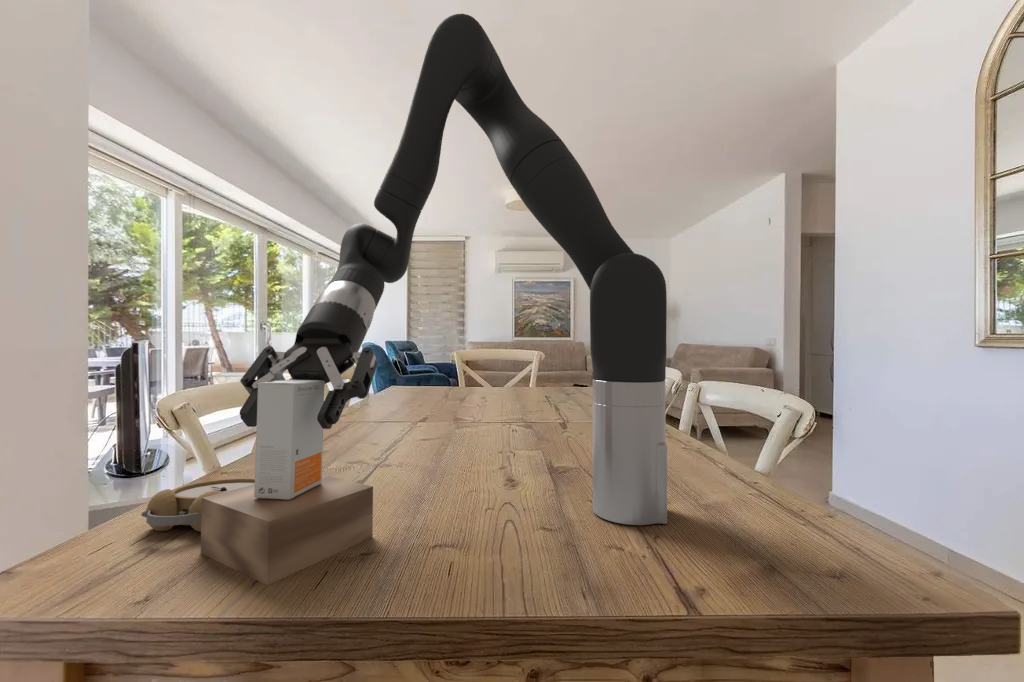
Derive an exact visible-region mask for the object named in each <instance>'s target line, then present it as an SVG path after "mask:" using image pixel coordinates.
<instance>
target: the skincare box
mask: <svg viewBox="0 0 1024 682" xmlns="http://www.w3.org/2000/svg"><path fill="white" fill-rule="evenodd" d="M325 385H326V384H325V381H324V380H296V379H293V380H289V379H285V380H279V381H273V382H262V383H258V399H257V426H256V430H255V432H256V435H255V457H254V458H255V463H254V465H255V466H254V478H255V487H254V497H255V498H269V499H285V500H290V499H292V498H294V497H295V496H297V495H299V494H301V493H303V492H305V491H307V490H309V489H311V488H313V487H315V486H318V485H320V484H321V483H322V475H323V455H324V453H323V452H324V451H323V449H324V429H323V428H322V427H321V425H320V424H319V422H318V420H317V416H318V413H319V411H320V409H321V407H322V405H323V403H324V401H325Z"/></svg>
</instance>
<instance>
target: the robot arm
mask: <svg viewBox="0 0 1024 682" xmlns="http://www.w3.org/2000/svg"><path fill="white" fill-rule="evenodd" d="M413 92H414V93H413V97H412V100H411V104H410V107H409V111H408V114H407V118H406V121H405V125H404V128H403V131H402V134H401V137H400V140H399V142H398V146H397V149H396V151H395V153H394V155H393V157H392V160H391V163H390V165H389V166H388V168H387V171H386V172H385V175H384V176H383V180H382V182H381V184H380V186H379V189H378V191H377V193H376V195H375V198H374V201H373V206H374V208H375V210H377V212H379V214H381V215H382V216H383V217H385V218H386V219H388V221H390V222H391V223H392V225H394V227H395V229H396V237H393V236H392V235H389V234H387V233H385V232H383V231H381V230H380V229H377V228H375V227H373V226H371V225H369V224H367V223H356V224H353V225H352V226H350V227H349V228H348V229H347V230H346V231H345V232H344V234H343V237H342V239H341V244H340V249H339V251H340V252H339V262H338V267H337V269H336V271H335V273H334V275H333V276H332V278H331V280H330V282H329V283H328V284H327V286H326V288H325V289H324V290H323V291H322V292H321V293H320V294H319V295H318V297H317V299H316V300H315V302H314V303H313V305H312V306H311V308H310V309H309V311H308V312H307V315H306V316H305V318H304V319H303V320H302V323H301V324H300V326H299V327H298V329H297V331H296V335H295V340H294V344H293V345H292V346H291V347H290V348H288V349H287V350H286V351H276V350H275V349H274V347H273V346H270V345H269V346H266V347H264V348H263V349H262V351H261V352H260V353H259V355H257V357H256V359H255V360H254V361H253V363H252V364H251V365H250V366H249V368H248V369H247V371H246V372H244V375H243V376H242V378H241V379H240V382H239V383H241V384H242V386H243V387H244V390H246V391H247V393H248V394H249V395H248V397H247V399H246V400H245V402H244V403H243V405H242V407H240V409H239V416H240V419H241V421H242V422H243V423H244V425H245V426H247V427H249V428H257V399H258V383H262V382H273V381H279V380H286V378H285V376H284V373H285V372H286V371H287V372H288V374H289V376H290V378H289V379H288V380H293V379H296V380H324V381H325V385H326V384H329V383H331V386H332V387H333V390H329V391H328V392H327V395H326V397H325V398H324V403H323V405H322V407H321V409H320V411H319V413H318V416H317V420H318V422H319V424H320V425H321V427H322V428H323V430H330V429H332V427H333V425H336V424H337V422H339V421H340V419H341V415H342V413H343V410H344V408H345V406H346V403H349V402H350V400H351V399H353V398H358V399H360V400H362V399H365V398H367V396H369V395H368V394H369V393H370V389H371V386H372V383H373V378H374V376H375V373H376V371H377V367H378V361H377V357H376V355H375V353H374V351H373V348H372V347H371V346H366V347H364V348H362V350H361V351H360V348H361V346H362V344H363V341H364V340H365V338H366V335H367V333H368V331H369V330H370V329H369V328H370V326H371V325H372V321H373V319H374V314H375V310H376V309H377V307H378V305H379V302H380V300H381V298H382V295H383V293H384V291H385V284H394V283H396V282H398V281H399V280H401V279H402V278H403V277H404V275H405V274H406V272H407V270H408V267H409V262H410V255H411V248H412V243H413V238H414V237H413V236H414V233H415V230H416V229H415V228H416V227H417V223H418V220H419V219H420V216H421V214H422V211H423V210H424V207H425V205H426V202H427V201H428V198H429V197H430V194H431V192H432V190H433V188H434V185H435V182H436V179H437V175H438V172H439V167H440V159H441V152H442V143H443V138H444V131H445V128H446V123H447V119H448V116H449V113H450V111H451V108H452V106H453V104H454V101H456V102H457V103H458V104H459V105H460V106H461V107H462V108H463V109H464V110H465V111H466V113H468V114H469V116H470V117H471V118H472V119H473V120H474V122H475V123H477V125H478V126H479V127H480V128H481V130H482V131H483V132H484V134H485V135H486V136H487V138H488V139H489V142H490V143H491V146H492V148H493V151H494V152H495V153H494V154H495V155H496V158H497V160H498V162H499V165H500V167H501V169H502V171H503V173H504V175H505V176H506V178H507V180H508V182H509V183H510V185H511V186H512V188H513V189H514V191H515V192H516V194H517V195H518V196H519V198H520V200H521V201H522V203H523V204H524V206H525V207H526V208H527V209H528V211H529V212H530V213H531V214H532V216H534V218H535V219H536V220H537V222H538V223H539V224H540V225H541V226H542V227H543V229H544V230H545V231H546V232H547V233H548V234H549V235H550V236H551V238H552V239H553V240H554V241H555V242H556V243H557V244H558V245H559V246H560V247H561V249H563V250H564V252H565V253H566V254H567V255H568V256H569V258H570V259H571V260H572V262H573V264H574V265H575V266H576V268H577V270H578V271H579V273H580V275H581V276H582V279H583V280H584V282H585V284H586V286H587V287H588V289H589V291H590V292H589V331H590V332H589V333H590V334H589V336H590V340H589V341H590V342H589V343H590V345H589V347H590V358H591V365H592V366H591V367H592V433H591V434H592V440H591V441H592V443H591V444H592V463H591V464H592V465H591V466H592V472H591V473H592V484H591V485H592V489H591V490H592V492H591V493H592V494H591V496H592V497H591V498H592V512H593V513H594V514H595V515H596V516H598V517H600V518H601V519H604V520H606V521H609V522H613V523H616V524H622V525H629V526H646V525H648V526H649V525H654V524H663V525H666V524H668V446H667V443H666V441H667V437H666V431H667V430H666V429H667V428H666V420H667V419H666V410H667V409H666V406H667V405H666V380H667V379H666V378H667V377H666V372H667V371H666V369H667V368H666V367H667V323H668V322H667V304H668V303H667V301H668V300H667V283H666V280H665V276H664V273H663V271H662V269H661V268H660V267H659V266H658V265H657V264H656V263H655V262H654V261H653V259H652V260H651V258H648V257H647V256H645V255H642V254H639V253H635V252H634V251H633V250H632V249H631V247H630V246H629V245H628V244H627V243H626V241H625V240H624V239H623V238H622V237H621V236H620V234H619V232H618V231H617V230H616V228H615V227H614V226H613V225H612V224H613V223H611V221H610V218H609V217H608V216H607V215H608V214H607V213H606V211H605V209H604V206H603V205H602V203H601V201H600V198H599V197H598V195H597V193H596V191H595V189H594V186H592V184H591V182H590V180H589V178H588V176H587V175H586V172H585V171H584V169H583V168H582V167H581V164H580V163H579V162H578V161H577V159H576V157H575V156H574V155H573V153H572V152H571V151H570V150H569V148H568V146H567V145H566V143H564V141H563V140H562V139H561V138H560V136H559V135H558V133H556V132H555V131H554V130H553V128H551V127H550V125H549V124H548V123H546V122H545V121H544V120H543V119H542V118H541V117H539V116H538V115H537V114H536V113H535V112H534V111H532V110H531V108H529V107H528V106H527V104H526V103H525V102H524V101H523V99H522V98H521V95H519V93H518V91H517V89H516V87H515V86H514V84H513V83H512V81H511V79H510V77H509V75H508V74H507V71H506V69H505V67H504V65H503V62H502V60H501V58H500V56H499V54H498V52H497V50H496V49H495V47H494V44H493V43H492V41H491V40H490V38H489V36H488V33H486V31H485V29H484V28H483V26H482V25H481V23H479V21H478V20H477V19H475V18H474V17H473V16H471V15H469V14H465V13H456V14H452V15H450V16H448V17H446V18H444V19H443V20H442V21H441V22H440V23H439V24H438V26H437V27H436V28H435V30H434V31H433V33H432V35H431V37H430V40H429V42H428V44H427V48H426V51H425V54H424V57H423V60H422V64H421V67H420V71H419V75H418V79H417V83H416V87H415V89H414V91H413ZM354 365H355V369H354V371H353V373H352V377H351V379H350V381H347V382H344V380H343V377H342V376H341V375H342V374H344V373H345V372H346V371H349V369H351V368H352V367H353V366H354Z"/></svg>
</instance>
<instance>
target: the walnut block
mask: <svg viewBox="0 0 1024 682" xmlns="http://www.w3.org/2000/svg"><path fill="white" fill-rule="evenodd" d="M254 487H255V484H254V485H250V486H246V487H242V488H238V489H235V490H231V491H227V492H223V493H219V494H215V495H211V496H207V497H203V498H202V512H201V532H200V554H202V555H203V556H205V557H208V558H210V559H212V560H214V561H216V562H218V563H221V564H222V565H225V566H227V567H229V568H231V569H233V570H235V571H237V572H239V573H240V574H241V573H242V574H244V575H245V576H247V577H250V578H251V579H254V580H256V581H257V582H260V583H262V584H264V585H266V586H269V585H271V584H274V583H276V582H278V581H280V580H282V579H284V578H286V577H289V576H290V575H293V574H296V573H298V572H300V571H302V570H304V569H306V568H309V567H310V566H312V565H314V564H317V563H319V562H321V561H323V560H325V559H327V558H330V557H332V556H334V555H336V554H338V553H341V552H343V551H345V550H347V549H349V548H352V547H353V546H355V545H358V544H360V543H362V542H365V541H367V540H369V539H372V537H373V525H374V524H373V522H374V521H373V520H374V519H373V515H374V514H373V513H374V512H373V509H374V498H373V497H374V486H373V485H372V486H371V485H368V484H364V483H360V482H355V481H351V480H347V479H342V478H338V477H335V476H330V475H326V474H322V483H321V484H320V485H318V486H315V487H313V488H311V489H309V490H307V491H305V492H303V493H301V494H299V495H297V496H295V497H294V498H292V499H290V500H285V499H269V498H255V497H254Z"/></svg>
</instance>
